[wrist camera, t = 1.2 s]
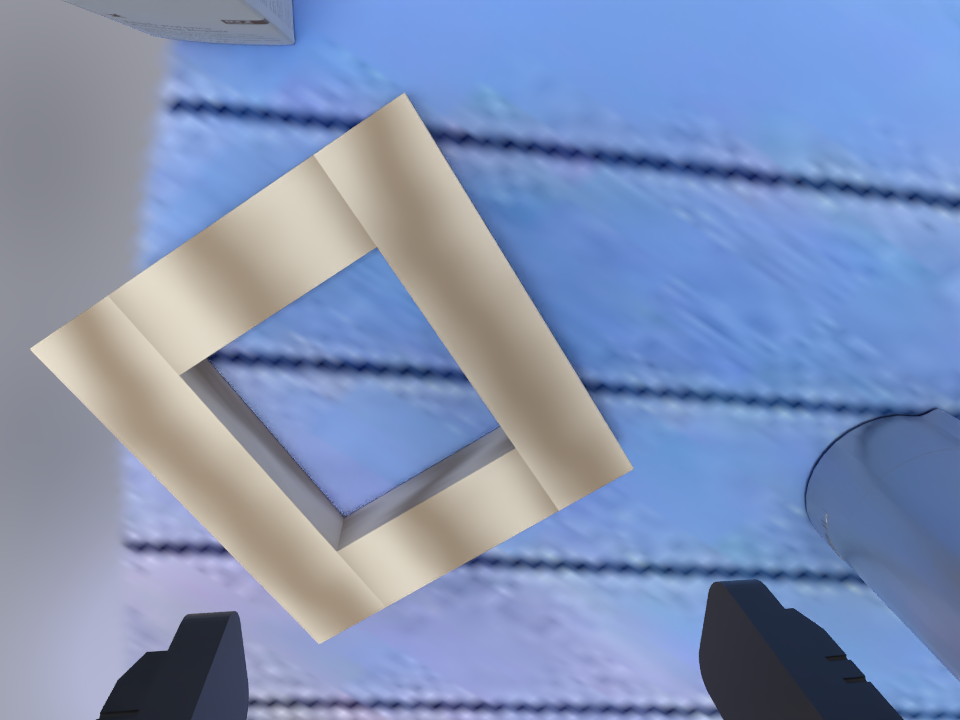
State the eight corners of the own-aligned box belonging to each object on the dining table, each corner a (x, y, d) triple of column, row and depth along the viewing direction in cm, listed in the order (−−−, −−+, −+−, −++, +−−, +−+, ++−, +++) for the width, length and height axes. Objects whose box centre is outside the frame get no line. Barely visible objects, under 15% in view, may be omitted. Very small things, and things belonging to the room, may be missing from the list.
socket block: (407, 95, 28) (404, 92, 25) (617, 441, 35) (634, 468, 32) (66, 328, 30) (29, 349, 27) (327, 605, 37) (319, 644, 35)
